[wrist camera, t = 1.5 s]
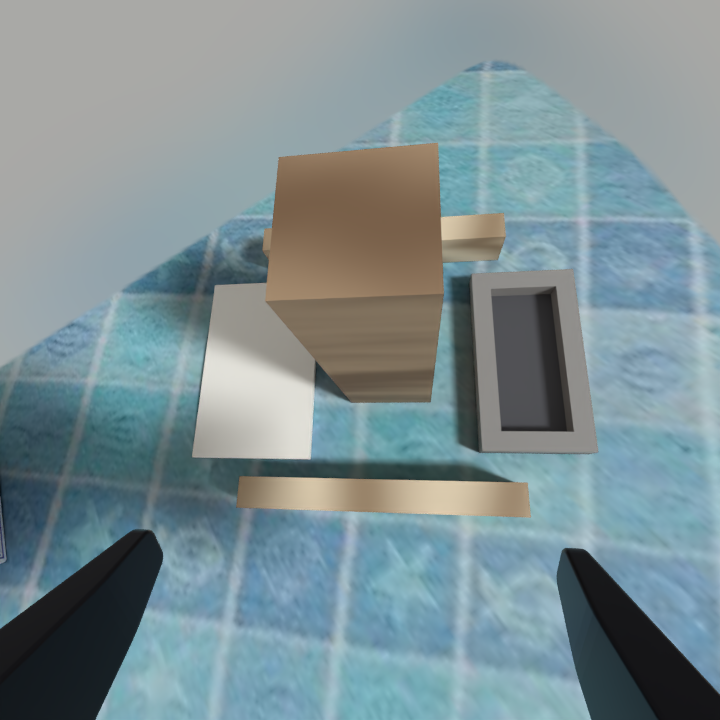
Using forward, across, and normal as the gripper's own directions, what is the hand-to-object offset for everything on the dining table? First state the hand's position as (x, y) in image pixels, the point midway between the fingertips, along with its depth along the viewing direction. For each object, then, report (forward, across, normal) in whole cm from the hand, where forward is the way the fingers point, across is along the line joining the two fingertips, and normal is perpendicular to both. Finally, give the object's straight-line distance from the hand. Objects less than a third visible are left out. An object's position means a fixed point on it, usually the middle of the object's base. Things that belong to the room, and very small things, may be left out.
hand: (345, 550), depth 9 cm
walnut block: (+15, 0, +4) cm, 16 cm away
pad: (+15, +8, +4) cm, 18 cm away
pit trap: (+15, -8, +4) cm, 17 cm away
